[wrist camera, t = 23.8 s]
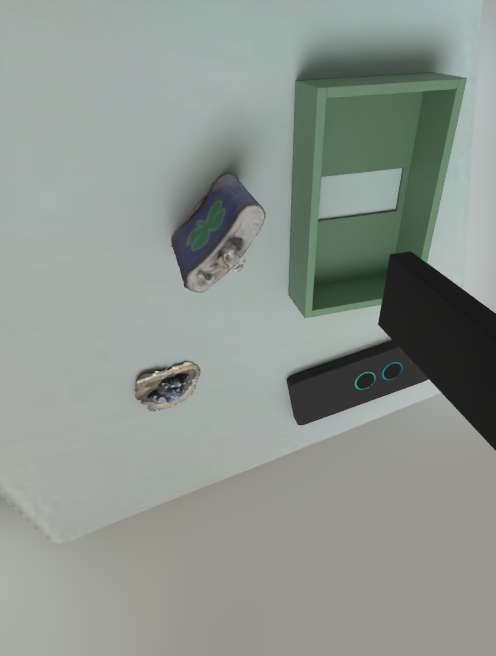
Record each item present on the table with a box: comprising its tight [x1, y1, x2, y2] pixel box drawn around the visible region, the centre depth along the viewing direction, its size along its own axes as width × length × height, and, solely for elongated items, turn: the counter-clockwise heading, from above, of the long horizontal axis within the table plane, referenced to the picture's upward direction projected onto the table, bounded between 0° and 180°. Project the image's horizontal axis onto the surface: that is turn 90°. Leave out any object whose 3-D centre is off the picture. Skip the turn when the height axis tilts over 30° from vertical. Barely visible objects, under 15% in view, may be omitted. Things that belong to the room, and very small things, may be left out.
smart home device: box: [287, 340, 428, 425], centre depth 62 cm, size 8×2×20 cm
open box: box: [289, 72, 467, 318], centre depth 46 cm, size 22×14×5 cm, turn 2°
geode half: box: [135, 362, 200, 411], centre depth 54 cm, size 7×8×2 cm
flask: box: [171, 174, 266, 292], centre depth 40 cm, size 9×3×11 cm, turn 138°
